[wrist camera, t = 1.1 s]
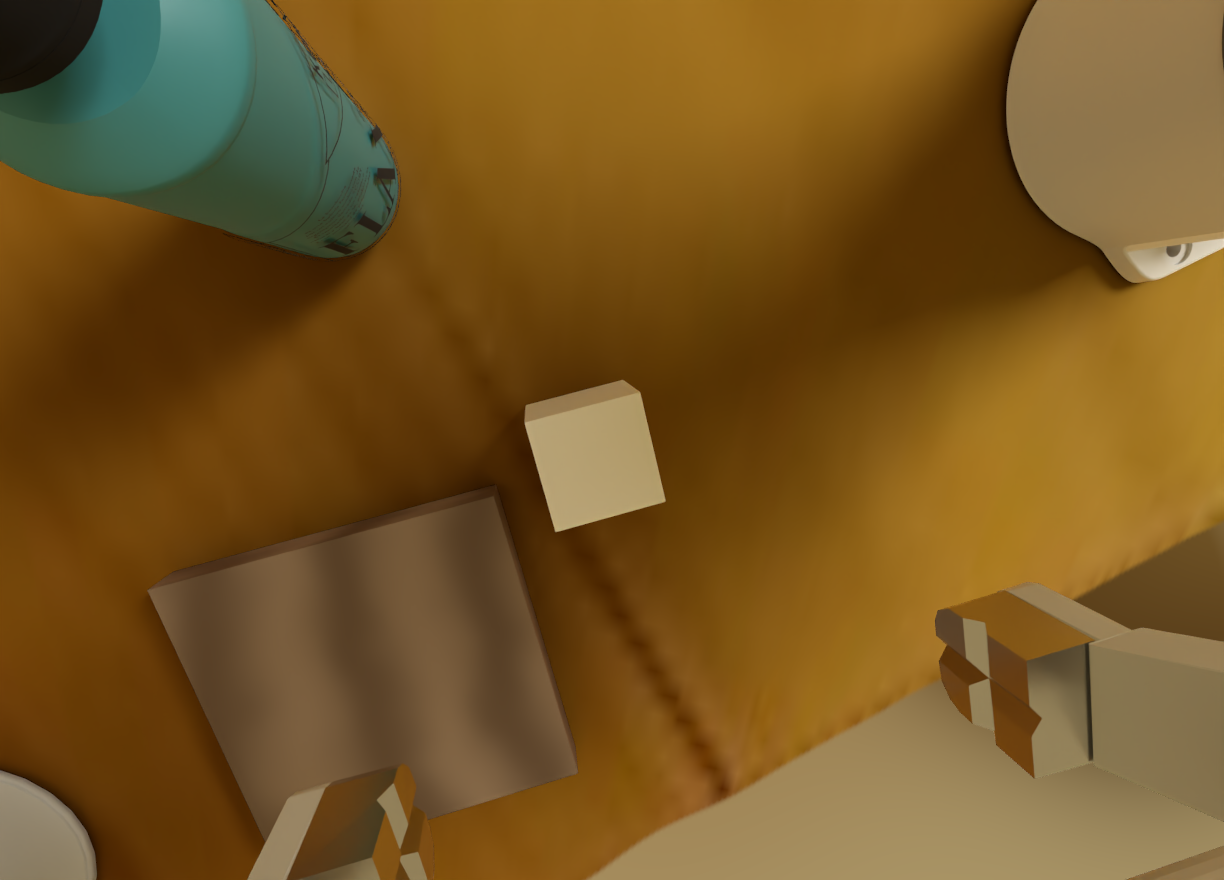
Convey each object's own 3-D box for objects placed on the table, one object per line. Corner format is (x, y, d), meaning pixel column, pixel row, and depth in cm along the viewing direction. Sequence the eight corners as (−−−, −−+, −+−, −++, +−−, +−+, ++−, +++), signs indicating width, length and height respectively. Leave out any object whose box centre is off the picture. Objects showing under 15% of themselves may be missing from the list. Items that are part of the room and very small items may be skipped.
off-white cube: (622, 379, 30) (640, 391, 25) (645, 472, 31) (665, 501, 26) (525, 404, 30) (524, 422, 25) (551, 497, 31) (555, 532, 26)
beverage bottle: (373, 292, 28) (-2, 242, 8) (229, 214, 26) (-630, -66, 7) (437, 162, 27) (191, -231, 7) (293, 74, 25) (-472, -687, 6)
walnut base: (495, 484, 30) (493, 496, 28) (575, 747, 34) (578, 773, 32) (173, 571, 29) (147, 590, 27) (291, 833, 33) (276, 866, 31)
